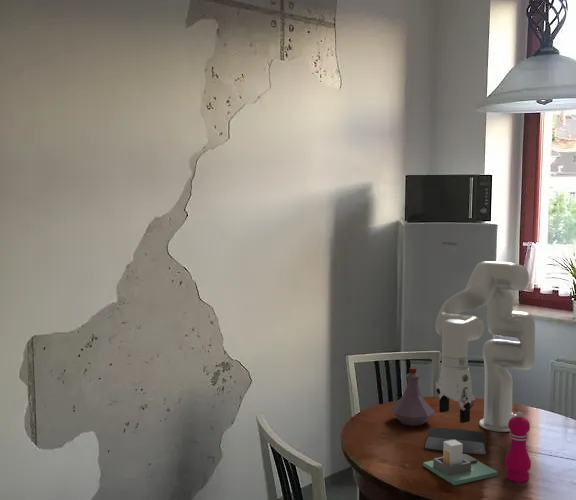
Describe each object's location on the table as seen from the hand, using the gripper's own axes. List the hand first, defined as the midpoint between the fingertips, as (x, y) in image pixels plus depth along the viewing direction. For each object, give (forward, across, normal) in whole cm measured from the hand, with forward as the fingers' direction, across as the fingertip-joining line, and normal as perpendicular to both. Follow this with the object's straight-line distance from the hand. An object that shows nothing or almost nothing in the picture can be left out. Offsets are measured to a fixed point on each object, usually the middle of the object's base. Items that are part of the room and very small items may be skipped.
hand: (454, 416), depth 202 cm
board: (+17, 0, -2) cm, 17 cm away
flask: (+18, +42, -14) cm, 48 cm away
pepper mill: (+17, -12, -14) cm, 25 cm away
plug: (+16, 0, +1) cm, 16 cm away
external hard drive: (+18, +17, -14) cm, 29 cm away
